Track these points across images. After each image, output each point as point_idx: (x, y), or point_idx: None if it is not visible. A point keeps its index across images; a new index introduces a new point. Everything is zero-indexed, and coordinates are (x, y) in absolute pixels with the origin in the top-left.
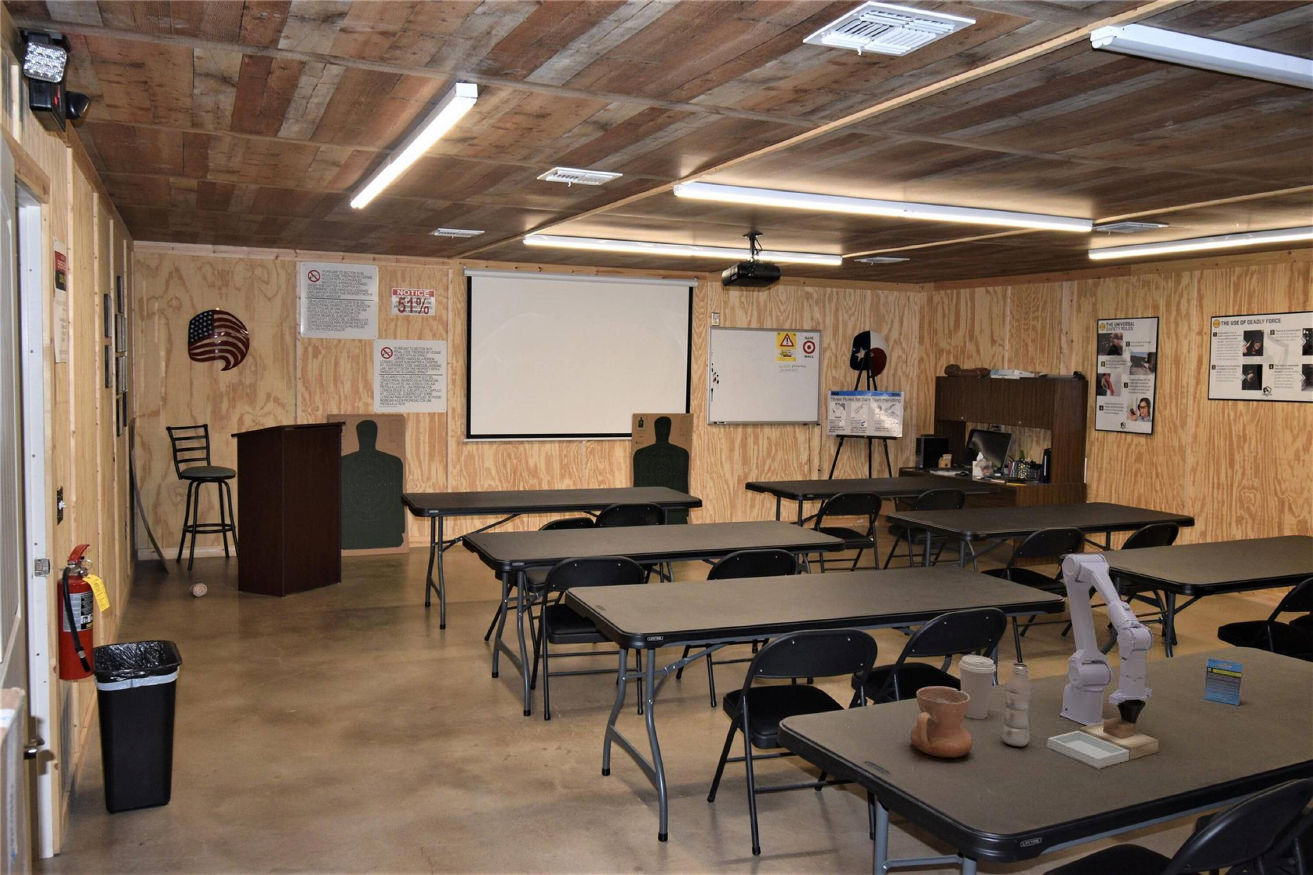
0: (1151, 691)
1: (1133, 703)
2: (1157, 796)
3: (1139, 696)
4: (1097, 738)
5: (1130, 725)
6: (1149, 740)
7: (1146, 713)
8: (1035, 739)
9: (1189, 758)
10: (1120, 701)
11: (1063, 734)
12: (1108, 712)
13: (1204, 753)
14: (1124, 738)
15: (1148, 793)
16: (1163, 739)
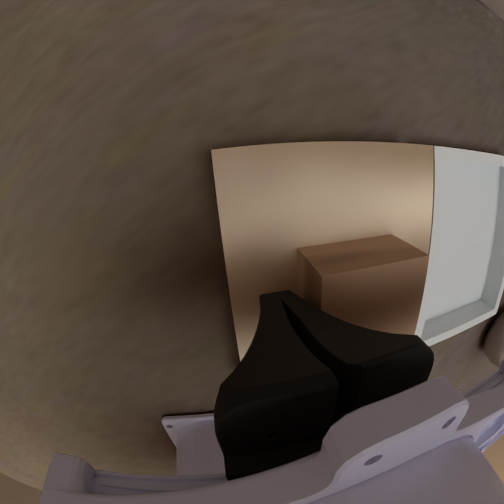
0: (47, 490)
1: (365, 403)
2: (477, 3)
3: (452, 432)
4: (426, 284)
5: (363, 267)
6: (273, 165)
7: (18, 403)
8: (456, 346)
9: (135, 54)
10: (476, 392)
11: (460, 330)
12: (110, 443)
13: (33, 93)
14: (372, 235)
15: (485, 20)
16: (66, 258)
